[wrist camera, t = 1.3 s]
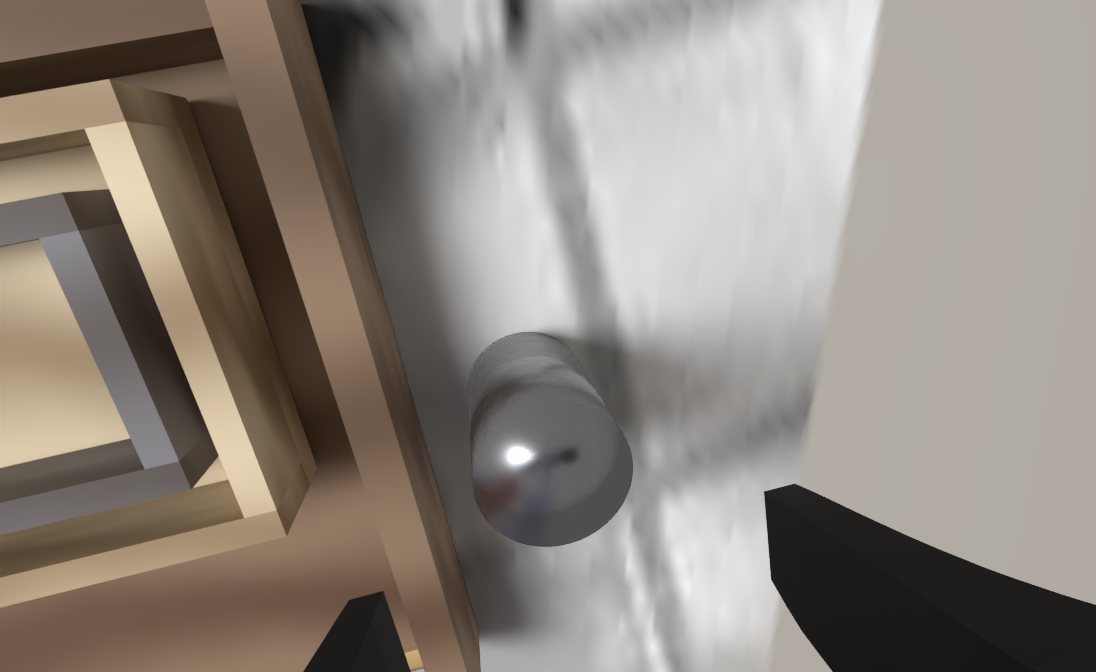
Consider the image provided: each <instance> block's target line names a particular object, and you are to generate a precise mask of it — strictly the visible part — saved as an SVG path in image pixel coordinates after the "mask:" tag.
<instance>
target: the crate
mask: <svg viewBox="0 0 1096 672" xmlns="http://www.w3.org/2000/svg"><path fill="white" fill-rule="evenodd" d="M316 471H317V466H316V463H315V460H314V457H313V455H312V452H311V449H310V446H309V443H308V440H307V438H306V435H305V432H304V429H303V426H302V424H301V421H300V418H299V415H298V412H297V409H296V407H295V404H294V401H293V398H292V395H291V392H290V390H289V387H288V384H287V381H286V378H285V375H284V373H283V370H282V367H281V364H280V361H279V358H278V356H277V353H276V350H275V347H274V344H273V341H272V339H271V336H270V333H269V330H268V327H267V325H266V322H265V319H264V316H263V313H262V310H261V308H260V305H259V302H258V299H257V296H256V293H255V291H254V288H253V285H252V282H251V279H250V276H249V274H248V271H247V268H246V265H245V262H244V259H243V257H242V254H241V251H240V248H239V245H238V242H237V240H236V237H235V234H234V231H233V228H232V226H231V223H230V220H229V217H228V214H227V211H226V209H225V206H224V203H223V200H222V197H221V194H220V192H219V189H218V186H217V183H216V180H215V177H214V175H213V172H212V169H211V166H210V163H209V160H208V158H207V155H206V152H205V149H204V146H203V143H202V141H201V138H200V135H199V132H198V129H197V127H196V124H195V121H194V118H193V115H192V112H191V110H190V107H189V104H188V101H187V98H184V97H180V96H176V95H172V94H168V93H163V92H159V91H155V90H151V89H147V88H143V87H139V86H135V85H131V84H127V83H123V82H119V81H115V80H110V79H107V80H101V81H96V82H90V83H84V84H78V85H73V86H67V87H61V88H55V89H50V90H44V91H38V92H32V93H27V94H21V95H15V96H9V97H3V98H0V608H1V607H5V606H9V605H13V604H17V603H21V602H25V601H29V600H33V599H37V598H41V597H45V596H49V595H53V594H57V593H61V592H65V591H69V590H73V589H77V588H81V587H85V586H89V585H93V584H97V583H101V582H105V581H109V580H114V579H118V578H122V577H126V576H130V575H134V574H138V573H142V572H146V571H150V570H154V569H158V568H162V567H166V566H170V565H174V564H178V563H182V562H186V561H190V560H194V559H198V558H202V557H206V556H210V555H214V554H218V553H222V552H226V551H230V550H234V549H238V548H242V547H246V546H250V545H254V544H258V543H263V542H267V541H271V540H275V539H279V538H283V537H287V535H288V533H289V530H290V528H291V526H292V524H293V522H294V519H295V517H296V515H297V513H298V511H299V508H300V506H301V504H302V502H303V500H304V497H305V495H306V493H307V491H308V489H309V486H310V484H311V482H312V480H313V477H314V475H315V473H316Z"/></svg>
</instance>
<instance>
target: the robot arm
mask: <svg viewBox="0 0 1096 672" xmlns="http://www.w3.org/2000/svg"><path fill="white" fill-rule="evenodd" d="M764 495H765V508H766V520H767V532H768V545H769V557H770V570H771V580H772V582H773V583H774V585H775V587H776V589H777V590H778V592H779V594H780V595H781V597H782V599H783V601H784V602H785V604H786V606H787V608H788V609H789V610H790V612H791V614H792V616H793V617H794V619H795V621H796V622H797V624H798V625H799V627H800V629H801V630H802V632H803V633H804V634H805V636H806V637H807V638H808V640H809V641H810V642H811V644H812V645H813V646H814V648H815V649H816V650H817V652H818V653H819V654H820V656H821V657H822V658H823V659H824V661H825V662H826V663H827V665H828V666H829V667H830V669H831V670H832V671H833V672H1096V605H1094V604H1091V603H1087V602H1084V601H1080V600H1077V599H1074V598H1071V597H1068V596H1065V595H1061V594H1058V593H1055V592H1052V591H1049V590H1046V589H1043V588H1041V587H1038V586H1035V585H1032V584H1029V583H1026V582H1023V581H1020V580H1017V579H1014V578H1011V577H1008V576H1005V575H1003V574H1000V573H997V572H995V571H992V570H989V569H986V568H984V567H981V566H979V565H976V564H974V563H971V562H969V561H967V560H964V559H962V558H959V557H956V556H954V555H952V554H949V553H947V552H944V551H942V550H939V549H937V548H935V547H932V546H930V545H928V544H925V543H923V542H920V541H918V540H916V539H914V538H911V537H909V536H907V535H904V534H902V533H900V532H898V531H896V530H894V529H891V528H889V527H887V526H885V525H883V524H880V523H878V522H876V521H874V520H872V519H870V518H867V517H865V516H863V515H861V514H859V513H857V512H855V511H853V510H851V509H848V508H846V507H844V506H842V505H840V504H838V503H836V502H833V501H831V500H829V499H827V498H825V497H823V496H821V495H819V494H817V493H815V492H812V491H810V490H808V489H806V488H803V487H801V486H799V485H796V484H792V485H788V486H784V487H780V488H777V489H773V490H769V491H765V492H764ZM303 672H411V671H410V668H409V665H408V662H407V659H406V656H405V653H404V650H403V647H402V644H401V641H400V638H399V635H398V632H397V629H396V627H395V624H394V621H393V618H392V615H391V612H390V609H389V606H388V603H387V600H386V597H385V594H384V591H381V592H377V593H373V594H370V595H366V596H362V597H358V598H354V599H350V600H349V601H348V602H347V604H346V605H345V607H344V608H343V610H342V611H341V613H340V614H339V616H338V617H337V619H336V621H335V622H334V624H333V625H332V627H331V628H330V630H329V632H328V633H327V635H326V636H325V638H324V640H323V641H322V643H321V644H320V646H319V647H318V649H317V651H316V652H315V654H314V655H313V657H312V658H311V660H310V662H309V663H308V665H307V666H306V668H305V669H304V671H303Z"/></svg>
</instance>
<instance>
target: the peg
mask: <svg viewBox="0 0 1096 672" xmlns="http://www.w3.org/2000/svg"><path fill="white" fill-rule="evenodd" d="M468 403H469V422H470V440H471V459H472V477H473V490H474V495H475V499H476V502H477V505H478V507H479V509H480V511H481V513H482V514H483V516H484V517H485V519H486V520H487V521H488V522H489V523H490V524H491V525H492V526H493V528H495V529H496V530H497V531H498V532H500V533H501V534H503V535H504V536H506V537H508V538H510V539H512V540H514V541H517V542H519V543H523V544H527V545H532V546H541V547H551V546H560V545H565V544H569V543H572V542H576V541H579V540H581V539H583V538H585V537H588V536H589V535H591V534H593V533H594V532H596V531H597V530H599V529H600V528H601V527H603V526H604V525H605V524H606V523H607V522H608V521H609V520H611V519H612V517H613V516H614V515H615V514H616V513H617V512H618V510H619V509H620V507H621V506H622V504H623V502H624V500H625V498H626V496H627V494H628V491H629V488H630V486H631V481H632V475H633V461H632V455H631V450H630V447H629V445H628V442H627V440H626V438H625V436H624V435H623V433H622V431H621V430H620V428H619V426H618V425H617V423H616V422H615V420H614V418H613V417H612V415H611V414H610V412H609V410H608V409H607V407H606V406H605V404H604V402H603V401H602V399H601V397H600V396H599V394H598V393H597V391H596V389H595V388H594V386H593V385H592V383H591V381H590V380H589V378H588V377H587V375H586V373H585V372H584V370H583V369H582V367H581V365H580V364H579V362H578V361H577V359H576V357H575V356H574V354H573V353H572V352H571V351H570V349H568V348H567V347H566V346H565V345H564V344H563V343H561V342H560V341H558V340H557V339H555V338H553V337H550V336H548V335H545V334H540V333H534V332H522V333H516V334H512V335H508V336H506V337H503V338H501V339H499V340H497V341H496V342H494V343H492V344H491V345H490V346H489V347H487V348H486V349H485V350H484V351H483V352H482V353H481V355H480V356H479V357H478V359H477V360H476V362H475V364H474V365H473V368H472V370H471V372H470V376H469V381H468Z"/></svg>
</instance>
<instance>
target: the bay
mask: <svg viewBox="0 0 1096 672" xmlns="http://www.w3.org/2000/svg"><path fill="white" fill-rule="evenodd" d="M107 79H110V80H115V81H119V82H123V83H127V84H131V85H135V86H139V87H143V88H147V89H151V90H155V91H159V92H163V93H168V94H172V95H176V96H180V97H184V98H187V101H188V104H189V107H190V110H191V112H192V115H193V118H194V121H195V124H196V127H197V129H198V132H199V135H200V138H201V141H202V143H203V146H204V149H205V152H206V155H207V158H208V160H209V163H210V166H211V169H212V172H213V175H214V177H215V180H216V183H217V186H218V189H219V192H220V194H221V197H222V200H223V203H224V206H225V209H226V211H227V214H228V217H229V220H230V223H231V226H232V228H233V231H234V234H235V237H236V240H237V242H238V245H239V248H240V251H241V254H242V257H243V259H244V262H245V265H246V268H247V271H248V274H249V276H250V279H251V282H252V285H253V288H254V291H255V293H256V296H257V299H258V302H259V305H260V308H261V310H262V313H263V316H264V319H265V322H266V325H267V327H268V330H269V333H270V336H271V339H272V341H273V344H274V347H275V350H276V353H277V356H278V358H279V361H280V364H281V367H282V370H283V373H284V375H285V378H286V381H287V384H288V387H289V390H290V392H291V395H292V398H293V401H294V404H295V407H296V409H297V412H298V415H299V418H300V421H301V424H302V426H303V429H304V432H305V435H306V438H307V440H308V443H309V446H310V449H311V452H312V455H313V457H314V460H315V463H316V466H317V471H316V473H315V475H314V477H313V480H312V482H311V484H310V486H309V489H308V491H307V493H306V495H305V497H304V500H303V502H302V504H301V506H300V508H299V511H298V513H297V515H296V517H295V519H294V522H293V524H292V526H291V528H290V530H289V533H288V535H287V537H283V538H279V539H275V540H271V541H267V542H263V543H258V544H254V545H250V546H246V547H242V548H238V549H234V550H230V551H226V552H222V553H218V554H214V555H210V556H206V557H202V558H198V559H194V560H190V561H186V562H182V563H178V564H174V565H170V566H166V567H162V568H158V569H154V570H150V571H146V572H142V573H138V574H134V575H130V576H126V577H122V578H118V579H114V580H109V581H105V582H101V583H97V584H93V585H89V586H85V587H81V588H77V589H73V590H69V591H65V592H61V593H57V594H53V595H49V596H45V597H41V598H37V599H33V600H29V601H25V602H21V603H17V604H13V605H9V606H5V607H1V608H0V672H303V671H304V669H305V668H306V666H307V665H308V663H309V662H310V660H311V658H312V657H313V655H314V654H315V652H316V651H317V649H318V647H319V646H320V644H321V643H322V641H323V640H324V638H325V636H326V635H327V633H328V632H329V630H330V628H331V627H332V625H333V624H334V622H335V621H336V619H337V617H338V616H339V614H340V613H341V611H342V610H343V608H344V607H345V605H346V604H347V602H348V601H349V600H350V599H354V598H358V597H362V596H366V595H370V594H373V593H377V592H381V591H384V594H385V597H386V600H387V603H388V606H389V609H390V612H391V615H392V618H393V621H394V624H395V627H396V629H397V632H398V635H399V638H400V641H401V644H402V647H403V650H404V653H405V656H406V659H407V662H408V665H409V668H410V671H411V672H412V671H416V670H419V669H423V668H424V670H425V672H481V668H480V648H479V632H478V628H477V624H476V621H475V617H474V614H473V610H472V607H471V603H470V600H469V596H468V593H467V589H466V586H465V582H464V579H463V575H462V571H461V568H460V564H459V561H458V557H457V554H456V550H455V547H454V543H453V540H452V536H451V533H450V529H449V526H448V522H447V518H446V515H445V511H444V508H443V504H442V501H441V497H440V494H439V490H438V487H437V483H436V480H435V476H434V473H433V469H432V466H431V462H430V458H429V455H428V451H427V448H426V444H425V441H424V437H423V434H422V430H421V427H420V423H419V420H418V416H417V413H416V409H415V405H414V402H413V398H412V395H411V391H410V388H409V384H408V381H407V377H406V374H405V370H404V367H403V363H402V360H401V356H400V352H399V349H398V345H397V342H396V338H395V335H394V331H393V328H392V324H391V321H390V317H389V314H388V310H387V307H386V303H385V299H384V296H383V292H382V289H381V285H380V282H379V278H378V275H377V271H376V268H375V264H374V261H373V257H372V254H371V250H370V246H369V243H368V239H367V236H366V232H365V229H364V225H363V222H362V218H361V215H360V211H359V208H358V204H357V201H356V197H355V194H354V190H353V186H352V183H351V179H350V176H349V172H348V169H347V165H346V162H345V158H344V155H343V151H342V148H341V144H340V141H339V137H338V133H337V130H336V126H335V123H334V119H333V116H332V112H331V109H330V105H329V102H328V98H327V95H326V91H325V88H324V84H323V80H322V77H321V73H320V70H319V66H318V63H317V59H316V56H315V52H314V49H313V45H312V42H311V38H310V35H309V31H308V27H307V24H306V20H305V17H304V13H303V10H302V6H301V4H300V2H299V1H298V0H0V98H3V97H9V96H15V95H21V94H27V93H32V92H38V91H44V90H50V89H55V88H61V87H67V86H73V85H78V84H84V83H90V82H96V81H101V80H107Z"/></svg>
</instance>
